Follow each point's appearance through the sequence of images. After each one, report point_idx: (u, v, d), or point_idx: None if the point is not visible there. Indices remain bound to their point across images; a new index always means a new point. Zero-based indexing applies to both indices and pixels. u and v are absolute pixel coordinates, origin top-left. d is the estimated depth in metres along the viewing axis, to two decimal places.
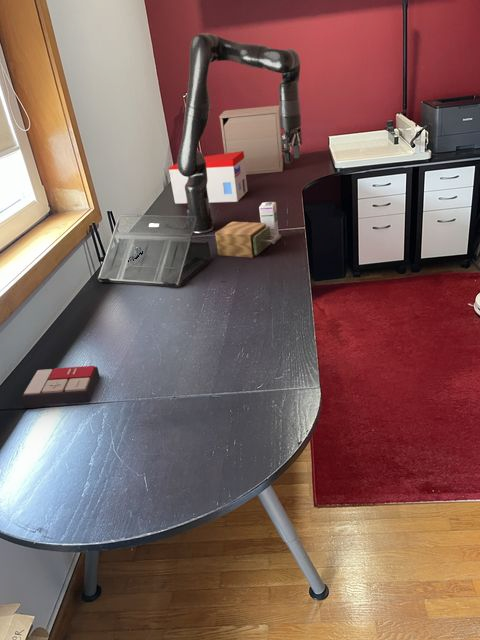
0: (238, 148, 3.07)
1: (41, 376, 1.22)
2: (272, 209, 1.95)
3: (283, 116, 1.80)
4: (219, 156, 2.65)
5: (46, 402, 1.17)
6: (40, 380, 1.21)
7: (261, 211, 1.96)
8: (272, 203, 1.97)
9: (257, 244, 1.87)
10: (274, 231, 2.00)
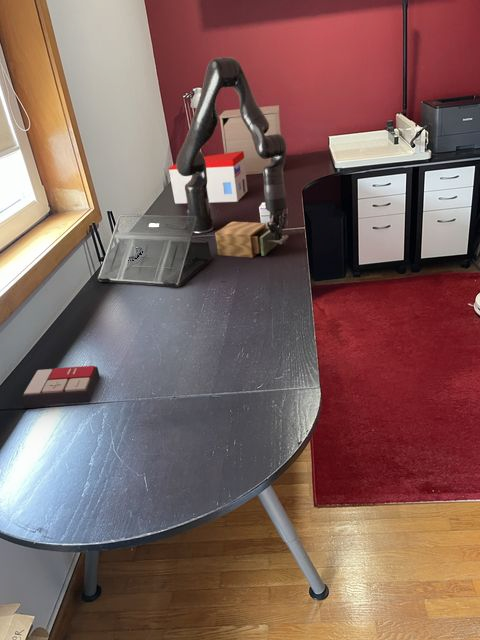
0: (237, 148, 3.07)
1: (41, 376, 1.22)
2: None
3: (268, 199, 1.78)
4: (219, 156, 2.65)
5: (46, 402, 1.17)
6: (40, 380, 1.21)
7: (261, 211, 1.96)
8: None
9: (264, 244, 1.86)
10: None
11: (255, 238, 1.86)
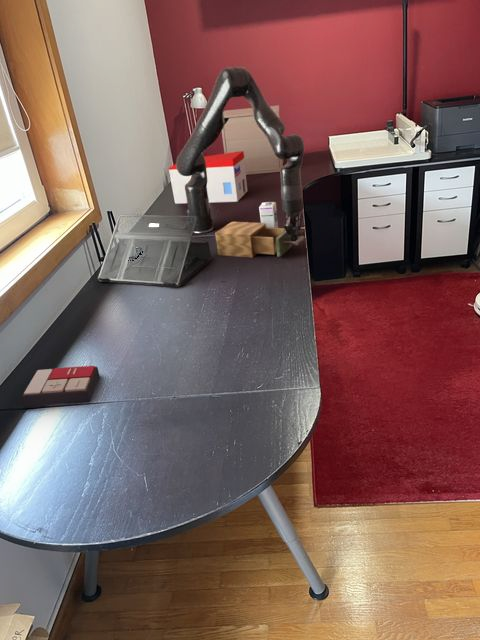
0: (238, 148, 3.07)
1: (41, 376, 1.22)
2: (272, 209, 1.95)
3: (285, 200, 1.75)
4: (219, 156, 2.65)
5: (46, 402, 1.17)
6: (40, 380, 1.21)
7: (261, 211, 1.96)
8: (272, 203, 1.97)
9: (280, 246, 1.83)
10: None
11: (271, 239, 1.83)
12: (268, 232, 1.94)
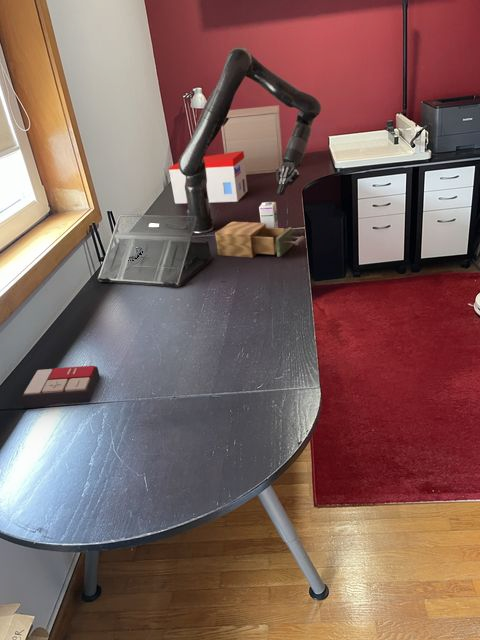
0: (237, 148, 3.07)
1: (41, 376, 1.22)
2: (272, 209, 1.95)
3: (298, 151, 1.95)
4: (219, 156, 2.65)
5: (46, 402, 1.17)
6: (40, 380, 1.21)
7: (261, 211, 1.96)
8: (272, 203, 1.97)
9: (280, 246, 1.83)
10: None
11: (271, 239, 1.83)
12: (268, 232, 1.94)
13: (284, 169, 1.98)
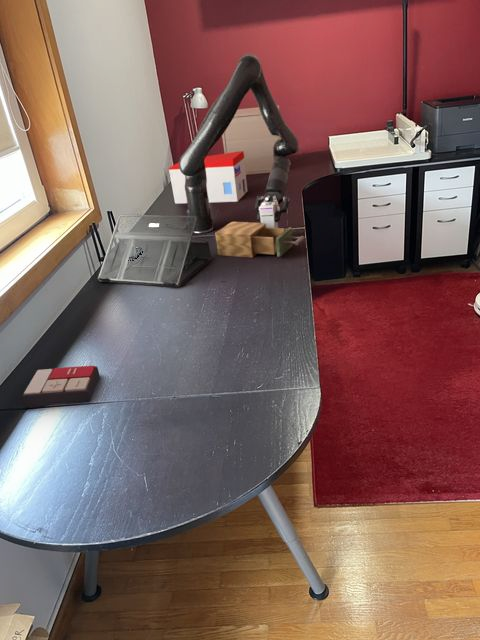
0: (238, 148, 3.07)
1: (41, 376, 1.22)
2: (272, 209, 1.95)
3: (284, 182, 1.99)
4: (219, 156, 2.65)
5: (46, 402, 1.17)
6: (40, 380, 1.21)
7: (261, 211, 1.96)
8: (272, 203, 1.97)
9: (280, 246, 1.83)
10: None
11: (271, 239, 1.83)
12: (268, 232, 1.94)
13: (268, 199, 2.00)
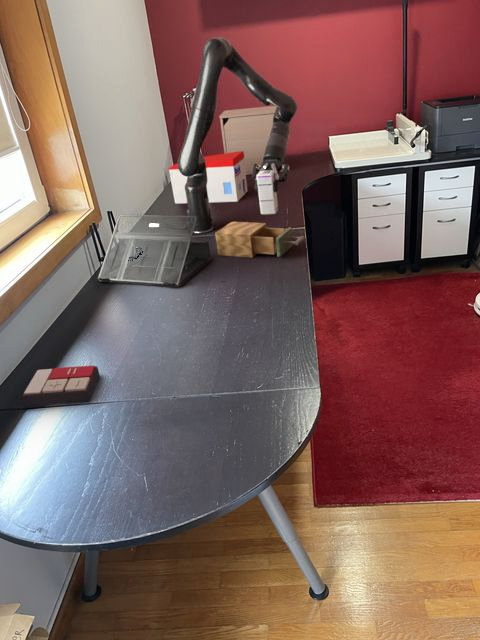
0: (238, 148, 3.07)
1: (41, 376, 1.22)
2: (270, 177, 1.79)
3: (283, 149, 1.84)
4: (219, 156, 2.65)
5: (46, 402, 1.17)
6: (40, 380, 1.21)
7: (259, 180, 1.81)
8: (270, 171, 1.81)
9: (280, 246, 1.83)
10: (273, 202, 1.84)
11: (271, 239, 1.83)
12: (268, 232, 1.94)
13: (266, 167, 1.84)
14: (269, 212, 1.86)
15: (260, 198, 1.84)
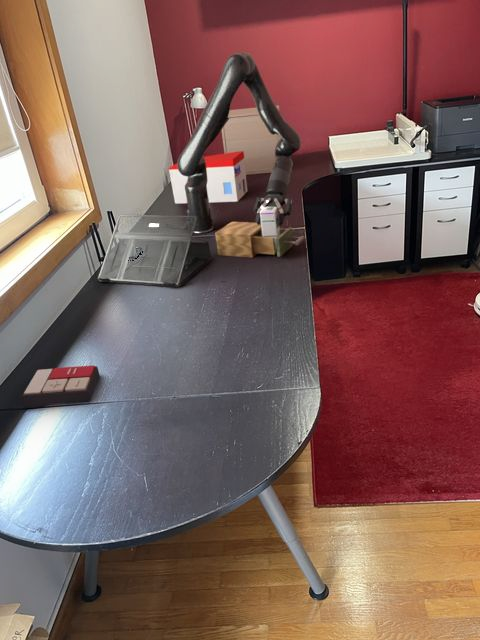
0: (237, 148, 3.07)
1: (41, 376, 1.22)
2: (274, 214, 1.82)
3: (286, 184, 1.86)
4: (219, 156, 2.65)
5: (46, 402, 1.17)
6: (40, 380, 1.21)
7: (262, 216, 1.83)
8: (274, 208, 1.84)
9: (280, 246, 1.83)
10: None
11: (271, 239, 1.83)
12: None
13: (269, 202, 1.86)
14: None
15: (263, 234, 1.86)
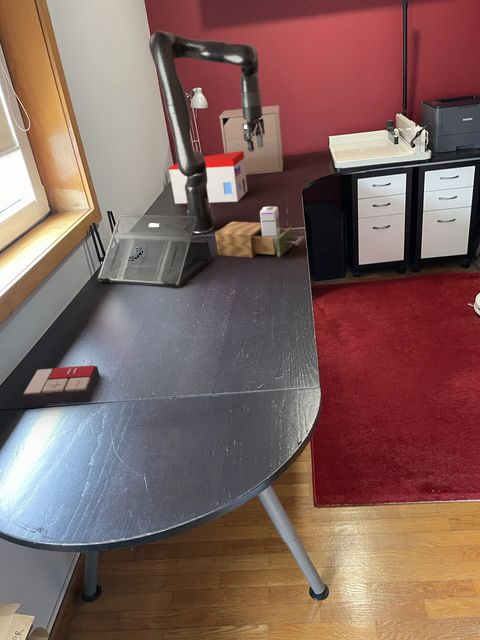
0: (238, 148, 3.07)
1: (41, 376, 1.22)
2: (274, 214, 1.82)
3: (245, 107, 1.92)
4: (219, 156, 2.65)
5: (46, 402, 1.17)
6: (40, 380, 1.21)
7: (262, 216, 1.83)
8: (274, 208, 1.84)
9: (280, 246, 1.83)
10: None
11: (271, 239, 1.83)
12: None
13: None
14: None
15: (263, 234, 1.86)
